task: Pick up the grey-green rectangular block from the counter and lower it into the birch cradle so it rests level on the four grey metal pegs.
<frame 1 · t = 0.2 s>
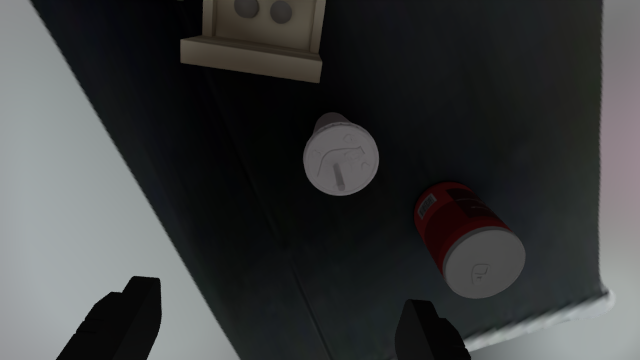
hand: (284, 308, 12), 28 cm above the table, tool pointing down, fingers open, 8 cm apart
canned food: (442, 208, 44), on the table
smoothie: (331, 128, 39), on the table
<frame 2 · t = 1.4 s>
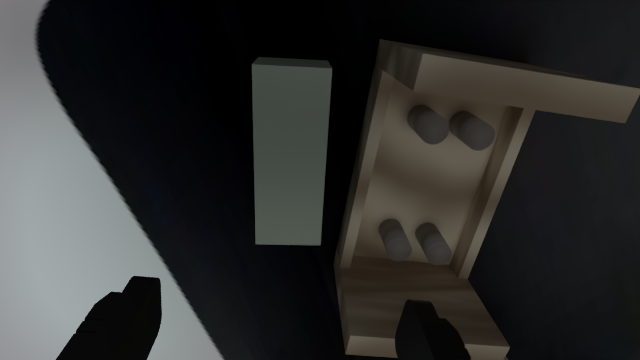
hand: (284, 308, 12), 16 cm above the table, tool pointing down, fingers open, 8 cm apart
cradle: (420, 174, 28), on the table
grey-green rectangular block: (291, 144, 26), on the table
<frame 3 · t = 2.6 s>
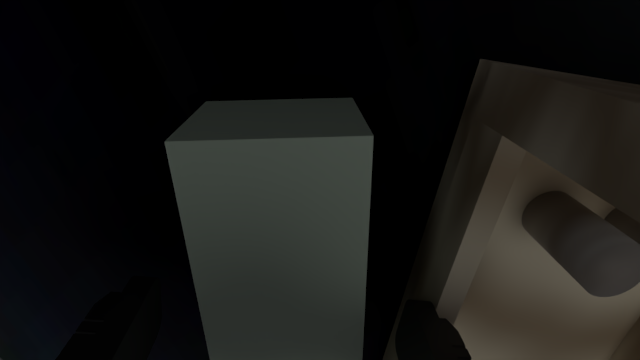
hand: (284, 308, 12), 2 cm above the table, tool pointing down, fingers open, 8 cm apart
cradle: (524, 300, 15), on the table
grey-green rectangular block: (289, 253, 14), on the table
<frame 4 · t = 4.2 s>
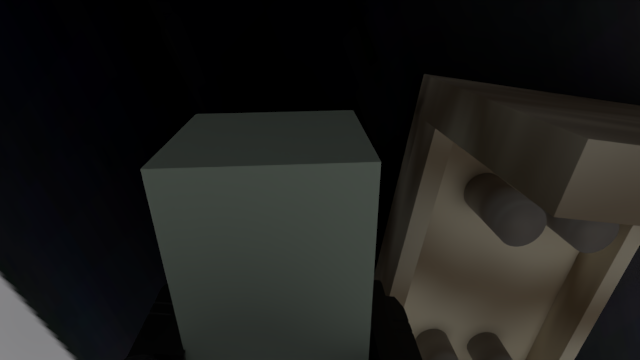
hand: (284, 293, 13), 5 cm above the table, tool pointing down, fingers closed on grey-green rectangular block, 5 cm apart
cradle: (475, 266, 19), on the table
grey-green rectangular block: (285, 277, 13), point 4 cm above the table, touching gripper
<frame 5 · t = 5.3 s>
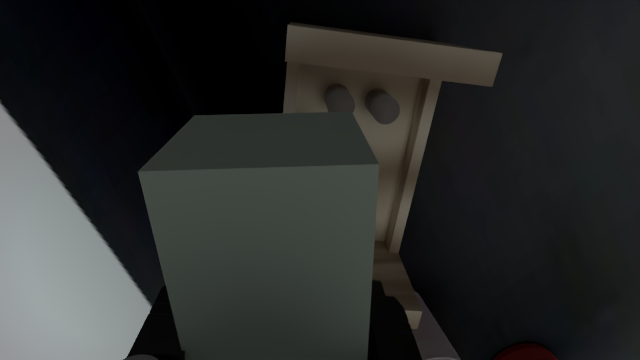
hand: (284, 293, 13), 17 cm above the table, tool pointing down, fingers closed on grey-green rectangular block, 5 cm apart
cradle: (346, 153, 29), on the table
grey-green rectangular block: (284, 278, 13), point 17 cm above the table, touching gripper
smoothie: (402, 302, 36), on the table
when the fingers open (5 cm above the table, at t = 7.5 s): grey-green rectangular block stays where it is, resting on cradle.
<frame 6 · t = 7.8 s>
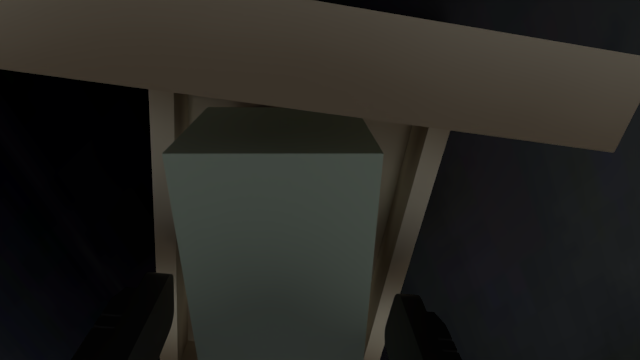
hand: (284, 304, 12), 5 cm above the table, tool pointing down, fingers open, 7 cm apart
cradle: (288, 219, 17), on the table
grey-green rectangular block: (286, 267, 14), point 4 cm above the table, touching cradle
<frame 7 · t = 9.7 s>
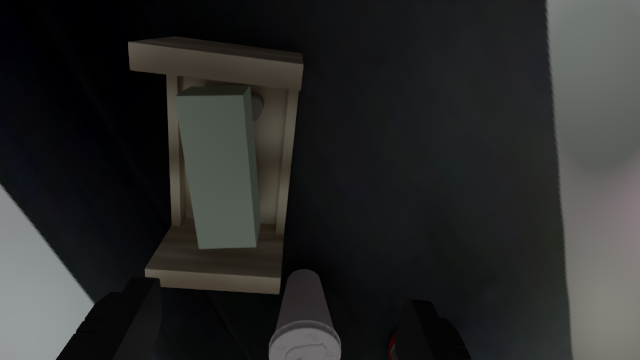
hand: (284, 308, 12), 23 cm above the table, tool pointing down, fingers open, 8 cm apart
cradle: (235, 147, 34), on the table
grey-green rectangular block: (228, 159, 30), point 4 cm above the table, touching cradle
smoothie: (303, 281, 41), on the table
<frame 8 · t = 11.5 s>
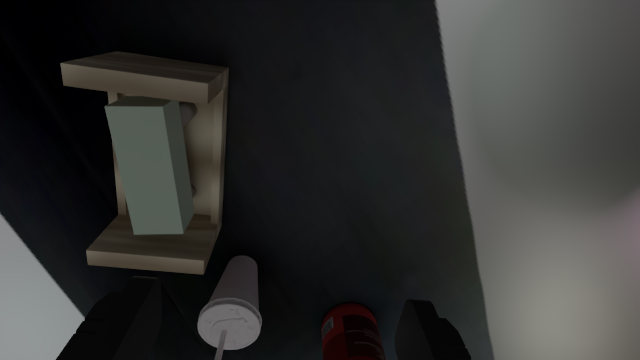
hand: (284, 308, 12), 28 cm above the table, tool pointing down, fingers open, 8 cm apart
canned food: (348, 322, 51), on the table
cradle: (175, 147, 39), on the table
grey-green rectangular block: (163, 158, 35), point 4 cm above the table, touching cradle
smoothie: (242, 266, 46), on the table
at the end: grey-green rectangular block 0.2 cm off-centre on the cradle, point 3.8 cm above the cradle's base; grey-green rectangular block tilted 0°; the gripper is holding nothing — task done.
